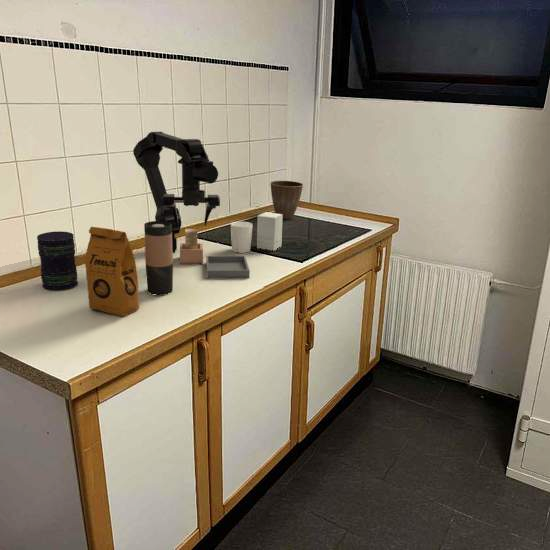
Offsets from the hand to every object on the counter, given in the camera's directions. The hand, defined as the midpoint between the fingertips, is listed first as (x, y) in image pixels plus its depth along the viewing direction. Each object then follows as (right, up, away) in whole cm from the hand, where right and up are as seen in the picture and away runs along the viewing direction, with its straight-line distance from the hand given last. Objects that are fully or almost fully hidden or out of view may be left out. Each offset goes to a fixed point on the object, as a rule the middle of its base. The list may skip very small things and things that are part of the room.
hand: (191, 225), depth 179 cm
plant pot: (+33, +10, +70) cm, 78 cm away
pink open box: (-1, -12, +4) cm, 12 cm away
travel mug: (-5, -22, -24) cm, 33 cm away
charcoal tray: (+12, -15, -4) cm, 20 cm away
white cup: (+16, -8, +17) cm, 25 cm away
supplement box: (+26, -6, +23) cm, 35 cm away
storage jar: (-35, -20, -23) cm, 46 cm away
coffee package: (-14, -26, -38) cm, 48 cm away
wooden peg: (-1, -11, +4) cm, 12 cm away
